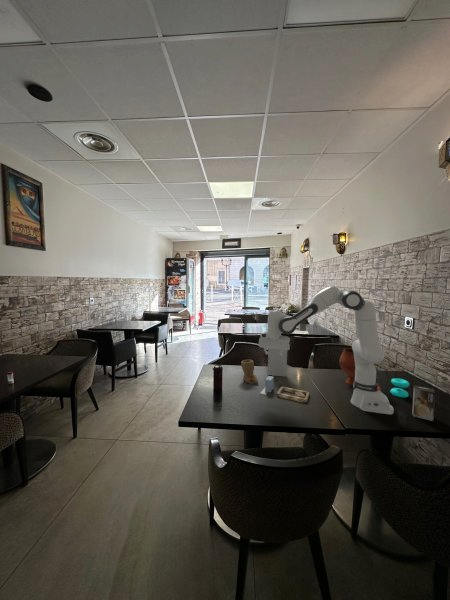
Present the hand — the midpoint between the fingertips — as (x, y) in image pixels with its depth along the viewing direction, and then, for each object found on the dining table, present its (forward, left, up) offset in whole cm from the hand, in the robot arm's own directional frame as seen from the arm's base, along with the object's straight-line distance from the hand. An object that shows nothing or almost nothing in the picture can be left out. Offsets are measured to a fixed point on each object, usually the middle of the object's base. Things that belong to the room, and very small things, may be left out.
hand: (273, 355), depth 168 cm
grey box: (+6, -32, -25) cm, 41 cm away
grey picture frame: (-83, -10, -25) cm, 88 cm away
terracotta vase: (-48, -43, -25) cm, 70 cm away
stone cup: (+21, -10, -25) cm, 34 cm away
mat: (+2, +2, -25) cm, 25 cm away
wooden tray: (-14, +3, -25) cm, 29 cm away
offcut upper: (-18, +2, -24) cm, 30 cm away
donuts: (-76, -37, -25) cm, 89 cm away
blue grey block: (+2, +2, -24) cm, 24 cm away
